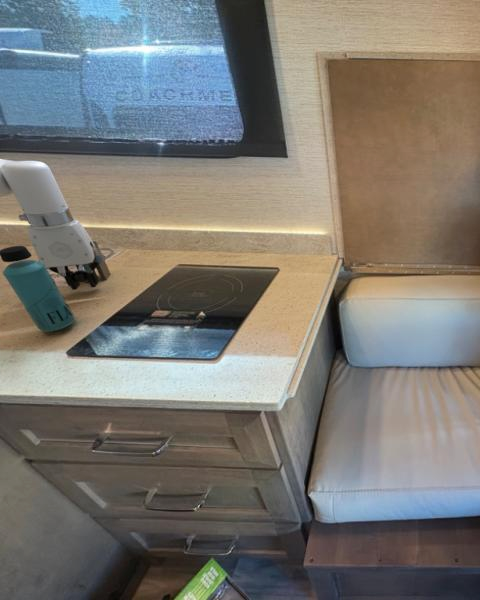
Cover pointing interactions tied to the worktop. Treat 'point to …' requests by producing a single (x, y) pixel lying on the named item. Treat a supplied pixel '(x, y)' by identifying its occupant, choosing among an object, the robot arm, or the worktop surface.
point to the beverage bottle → (36, 290)
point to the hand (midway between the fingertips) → (85, 285)
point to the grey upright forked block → (100, 267)
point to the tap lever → (80, 274)
